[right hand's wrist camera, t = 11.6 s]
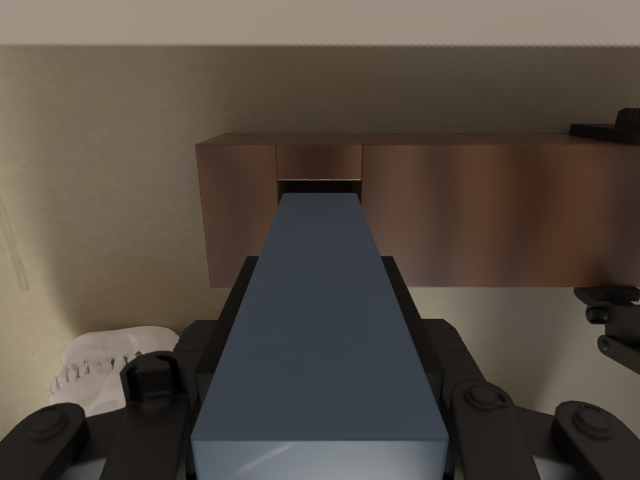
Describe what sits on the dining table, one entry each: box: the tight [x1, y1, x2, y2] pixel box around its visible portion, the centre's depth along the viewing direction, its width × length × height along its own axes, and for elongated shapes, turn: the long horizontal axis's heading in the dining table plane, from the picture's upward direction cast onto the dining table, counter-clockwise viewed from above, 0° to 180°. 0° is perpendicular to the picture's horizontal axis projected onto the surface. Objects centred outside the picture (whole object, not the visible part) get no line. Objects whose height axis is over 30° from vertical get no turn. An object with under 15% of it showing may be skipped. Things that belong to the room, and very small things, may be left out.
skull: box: [49, 326, 180, 417], centre depth 28 cm, size 13×22×16 cm, turn 68°
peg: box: [191, 193, 449, 480], centre depth 14 cm, size 4×4×16 cm
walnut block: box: [195, 134, 640, 287], centre depth 27 cm, size 30×9×7 cm, turn 90°
